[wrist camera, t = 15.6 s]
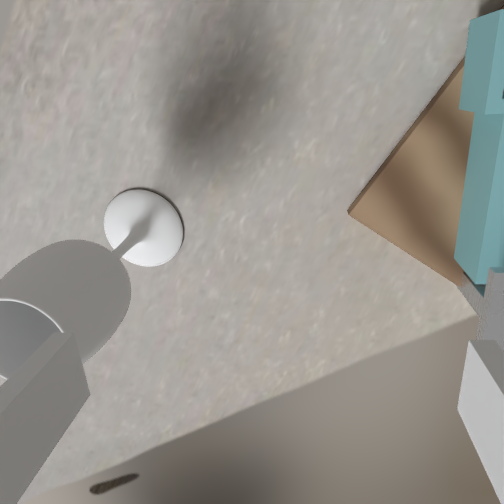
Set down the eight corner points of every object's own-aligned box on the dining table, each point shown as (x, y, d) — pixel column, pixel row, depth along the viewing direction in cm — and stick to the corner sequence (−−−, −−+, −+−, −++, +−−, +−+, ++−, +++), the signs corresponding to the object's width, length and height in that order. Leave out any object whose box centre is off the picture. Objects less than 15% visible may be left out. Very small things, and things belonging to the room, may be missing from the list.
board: (509, -2, 33) (518, -6, 31) (658, 111, 34) (672, 112, 33) (347, 210, 41) (348, 214, 39) (474, 292, 43) (479, 300, 41)
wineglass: (93, 239, 45) (-62, 359, 26) (123, 173, 42) (-30, 253, 23) (162, 279, 46) (61, 422, 27) (197, 217, 43) (110, 330, 24)
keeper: (442, 219, 40) (495, 273, 29) (509, 218, 39) (588, 272, 28) (434, 283, 43) (479, 355, 32) (496, 283, 42) (564, 357, 31)
